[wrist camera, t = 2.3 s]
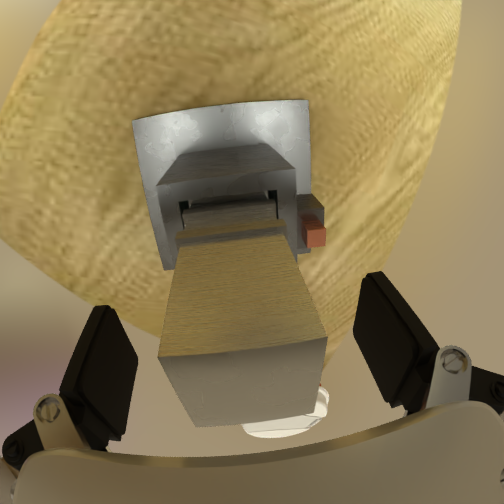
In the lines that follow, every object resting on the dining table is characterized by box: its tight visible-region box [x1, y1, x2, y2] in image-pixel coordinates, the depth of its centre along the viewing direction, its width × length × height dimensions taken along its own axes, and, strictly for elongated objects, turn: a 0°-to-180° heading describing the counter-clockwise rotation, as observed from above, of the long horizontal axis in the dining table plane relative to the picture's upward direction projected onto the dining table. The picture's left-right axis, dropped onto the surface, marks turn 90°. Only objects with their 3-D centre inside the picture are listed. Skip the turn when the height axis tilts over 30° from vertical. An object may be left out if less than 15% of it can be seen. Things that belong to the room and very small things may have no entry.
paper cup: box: [241, 384, 329, 438], centre depth 25 cm, size 8×8×14 cm
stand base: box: [132, 100, 326, 270], centre depth 19 cm, size 14×14×11 cm
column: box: [158, 191, 328, 427], centre depth 15 cm, size 4×4×18 cm
